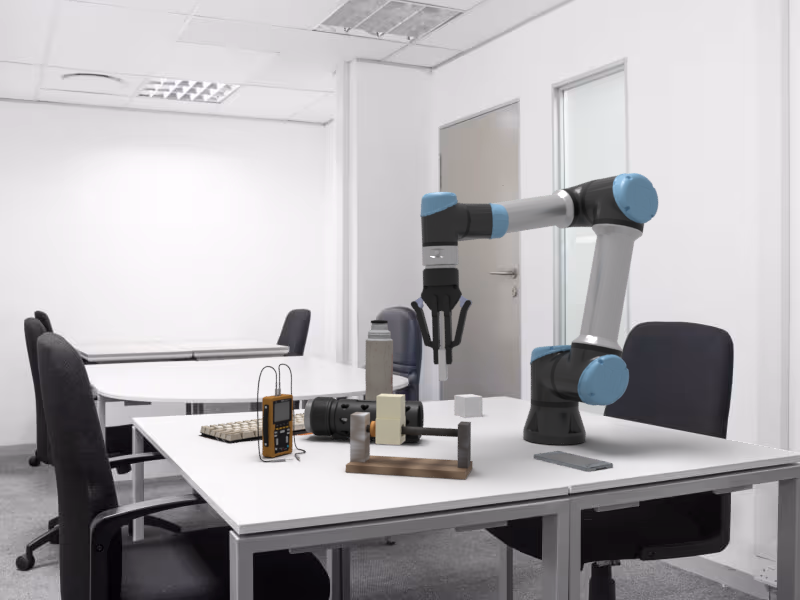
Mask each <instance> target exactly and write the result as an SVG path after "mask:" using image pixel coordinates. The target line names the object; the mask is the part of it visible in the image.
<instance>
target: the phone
mask: <svg viewBox="0 0 800 600" xmlns="http://www.w3.org/2000/svg"><path fill="white" fill-rule="evenodd" d="M533 459H534V460H539V461H542V462H546V463H551V464H553V465H554V464H555V465H558V466H562V467H566V468H569V469H570V468H571V469H574V470H578V471H581V472H589V473H590V472H595V471H598V470H601V469H613V468H614V464H613V462H611V461H605V460H602V459H601V460H600V459H596V458H592V457H587V456H583V455H579V454H576V453H575V454H574V453H570V452H566V451H561V450H555V451H554V450H553V451H548V452H541V453H534V454H533Z"/></svg>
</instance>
